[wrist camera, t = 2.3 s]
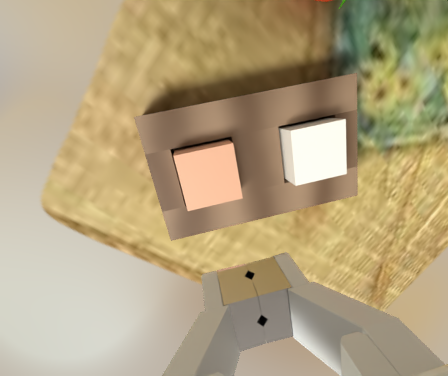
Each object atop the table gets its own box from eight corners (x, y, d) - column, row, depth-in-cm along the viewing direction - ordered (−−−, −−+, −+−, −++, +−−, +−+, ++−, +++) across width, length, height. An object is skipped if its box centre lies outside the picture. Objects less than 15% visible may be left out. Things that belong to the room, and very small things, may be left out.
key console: (331, 78, 26) (356, 72, 22) (335, 184, 30) (357, 195, 26) (142, 115, 24) (134, 117, 20) (172, 222, 28) (170, 240, 24)
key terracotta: (227, 139, 23) (233, 143, 20) (236, 188, 24) (242, 198, 22) (174, 150, 22) (173, 155, 20) (187, 200, 24) (187, 211, 21)
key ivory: (327, 118, 24) (345, 119, 21) (329, 167, 25) (346, 173, 23) (278, 128, 23) (290, 130, 21) (284, 177, 25) (295, 185, 22)
